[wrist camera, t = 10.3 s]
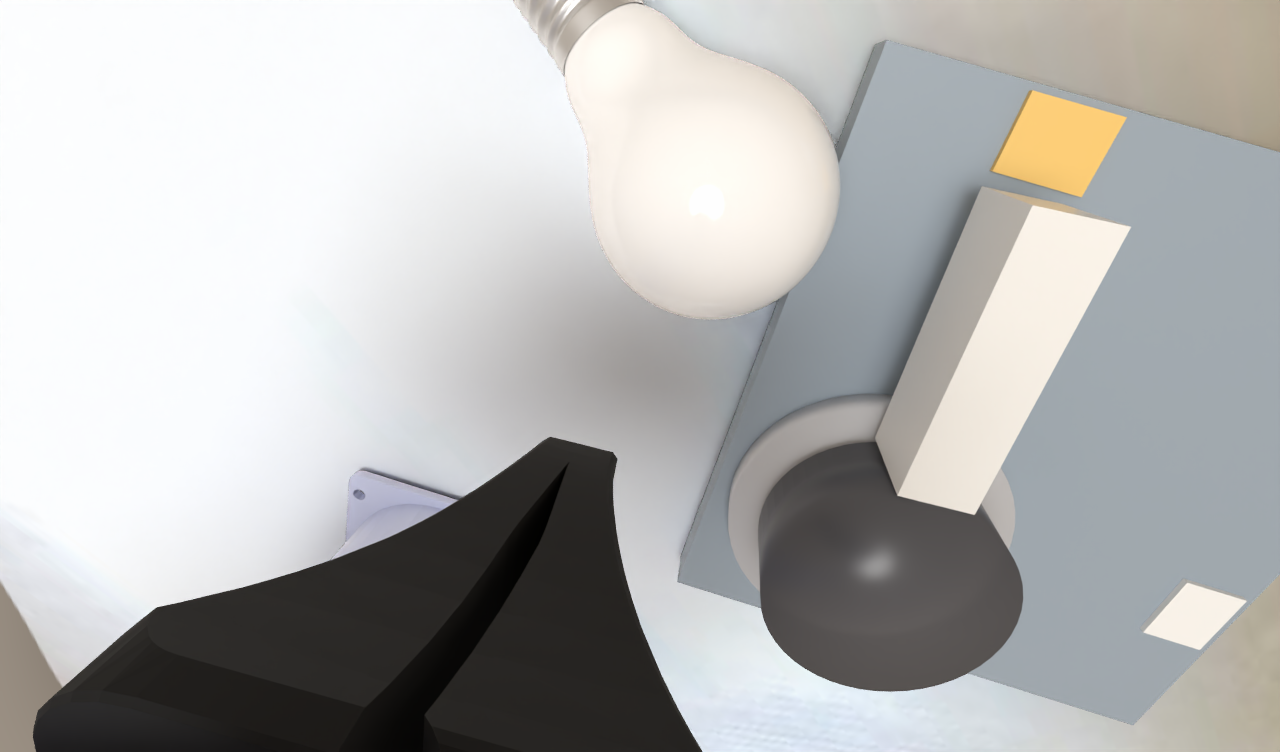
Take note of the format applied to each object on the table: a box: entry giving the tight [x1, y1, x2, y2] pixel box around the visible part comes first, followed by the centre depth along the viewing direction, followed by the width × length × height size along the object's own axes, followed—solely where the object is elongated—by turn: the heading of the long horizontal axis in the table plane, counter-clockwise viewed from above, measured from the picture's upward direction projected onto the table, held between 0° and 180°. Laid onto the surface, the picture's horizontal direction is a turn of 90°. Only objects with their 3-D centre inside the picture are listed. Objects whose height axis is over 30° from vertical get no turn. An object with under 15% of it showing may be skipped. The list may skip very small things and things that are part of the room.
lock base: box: [677, 40, 1280, 725], centre depth 20 cm, size 19×18×2 cm
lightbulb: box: [513, 0, 840, 320], centre depth 16 cm, size 6×6×11 cm
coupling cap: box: [758, 186, 1131, 691], centre depth 17 cm, size 14×7×3 cm, turn 169°
